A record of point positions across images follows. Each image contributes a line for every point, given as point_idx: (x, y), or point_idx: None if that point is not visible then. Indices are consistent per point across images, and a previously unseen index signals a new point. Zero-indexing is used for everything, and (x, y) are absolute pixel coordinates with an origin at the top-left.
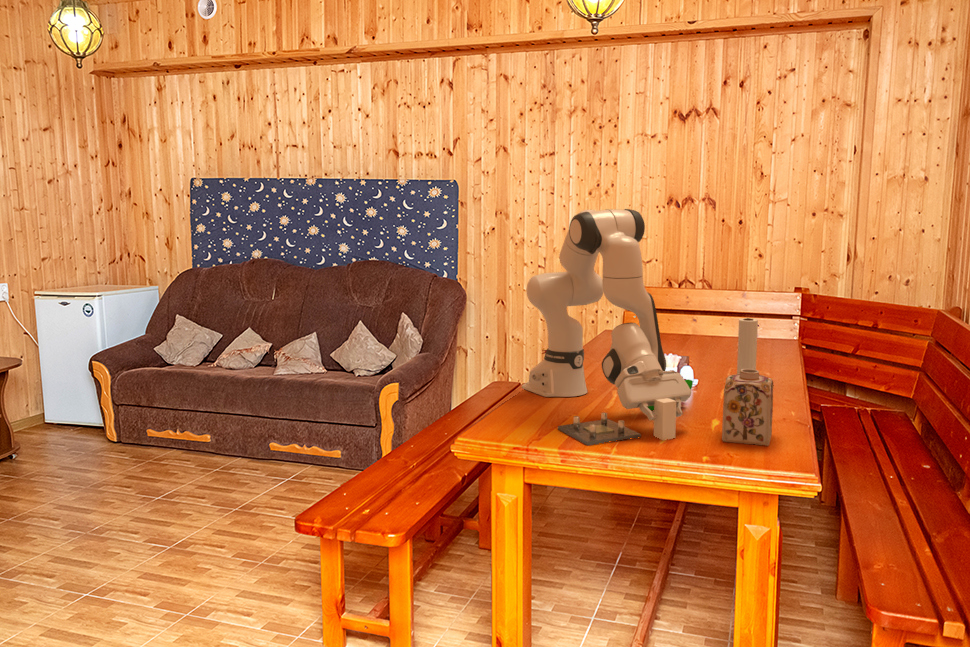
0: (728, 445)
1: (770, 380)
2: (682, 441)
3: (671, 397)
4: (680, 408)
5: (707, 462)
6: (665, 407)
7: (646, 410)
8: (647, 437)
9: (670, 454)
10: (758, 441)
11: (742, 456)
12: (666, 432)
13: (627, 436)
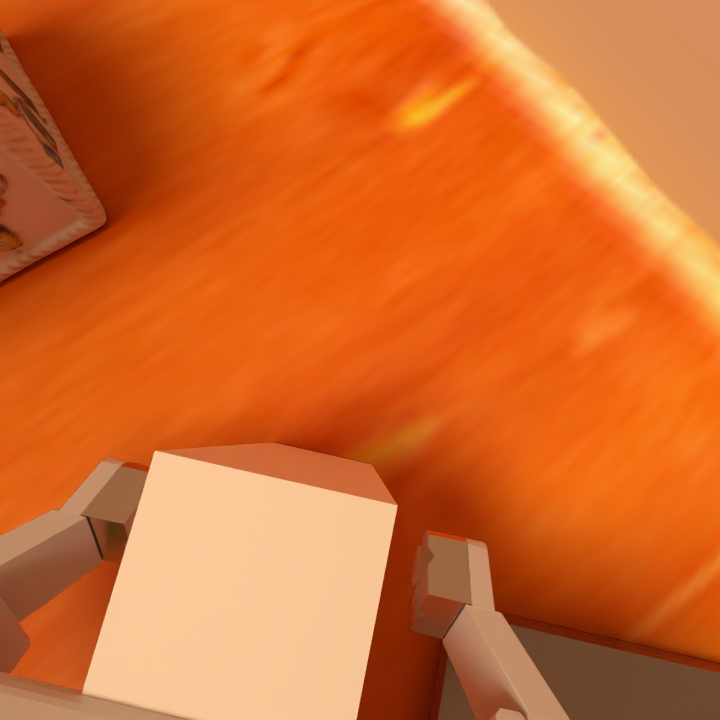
0: (148, 164)
1: None
2: (289, 370)
3: (9, 679)
4: (70, 500)
5: (468, 63)
6: (354, 486)
7: (518, 660)
8: (403, 577)
9: (533, 248)
10: (9, 58)
11: (255, 22)
12: (341, 460)
13: (568, 637)
